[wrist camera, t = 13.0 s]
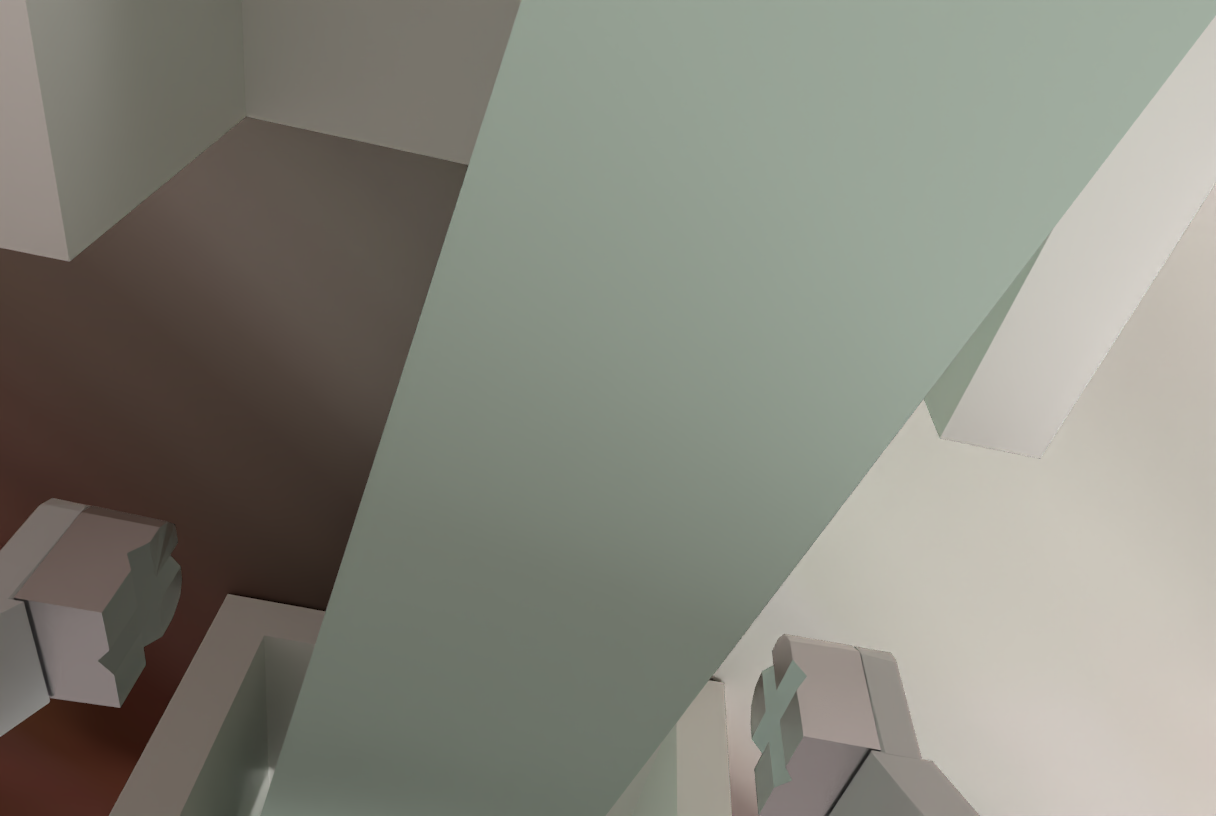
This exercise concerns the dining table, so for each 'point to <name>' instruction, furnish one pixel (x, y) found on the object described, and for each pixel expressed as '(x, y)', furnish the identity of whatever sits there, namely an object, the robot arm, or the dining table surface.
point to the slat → (678, 361)
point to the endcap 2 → (265, 701)
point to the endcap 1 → (448, 129)
